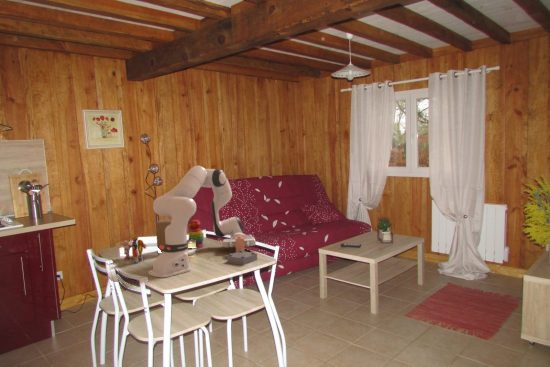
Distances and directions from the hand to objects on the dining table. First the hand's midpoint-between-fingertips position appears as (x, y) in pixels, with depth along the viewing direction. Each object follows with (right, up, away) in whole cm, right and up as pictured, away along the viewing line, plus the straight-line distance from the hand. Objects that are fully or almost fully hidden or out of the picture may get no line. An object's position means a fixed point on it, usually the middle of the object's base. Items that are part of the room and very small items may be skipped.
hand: (239, 245), depth 235 cm
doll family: (-60, -8, -5) cm, 61 cm away
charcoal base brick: (+2, -7, -12) cm, 14 cm away
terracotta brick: (0, -5, +1) cm, 6 cm away
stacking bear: (-31, -4, +22) cm, 38 cm away
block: (-46, -6, +11) cm, 48 cm away
